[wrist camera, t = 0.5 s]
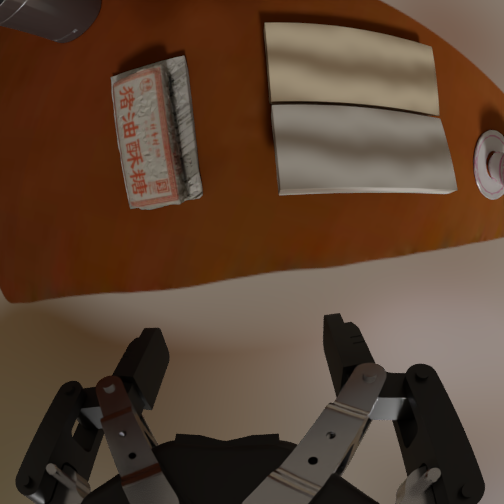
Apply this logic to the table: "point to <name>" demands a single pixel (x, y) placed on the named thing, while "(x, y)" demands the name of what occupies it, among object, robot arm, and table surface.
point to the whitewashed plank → (359, 151)
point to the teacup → (490, 164)
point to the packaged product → (157, 134)
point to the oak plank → (349, 68)
